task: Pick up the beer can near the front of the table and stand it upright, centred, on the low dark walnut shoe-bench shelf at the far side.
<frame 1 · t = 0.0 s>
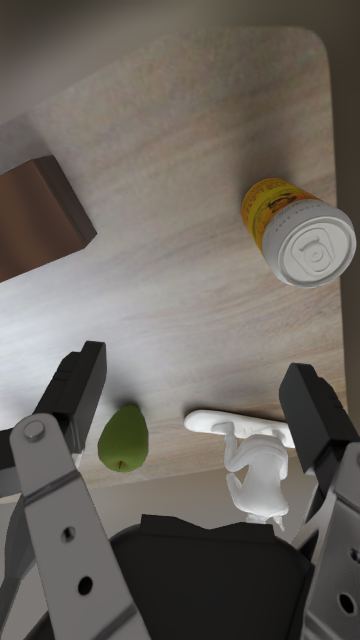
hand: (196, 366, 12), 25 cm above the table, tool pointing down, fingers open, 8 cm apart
figurine: (247, 423, 55), on the table
shelf: (21, 222, 34), on the table
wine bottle: (67, 439, 60), on the table
beer can: (266, 205, 32), on the table
apple: (131, 408, 54), on the table
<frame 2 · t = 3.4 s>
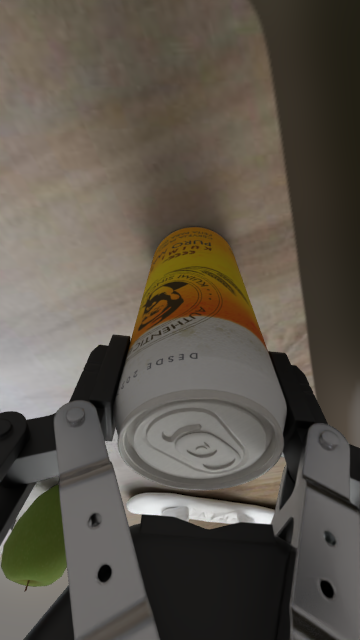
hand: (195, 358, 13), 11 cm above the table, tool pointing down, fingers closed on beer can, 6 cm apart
figurine: (207, 503, 45), on the table
beer can: (193, 263, 21), on the table, touching gripper
apple: (61, 487, 43), on the table
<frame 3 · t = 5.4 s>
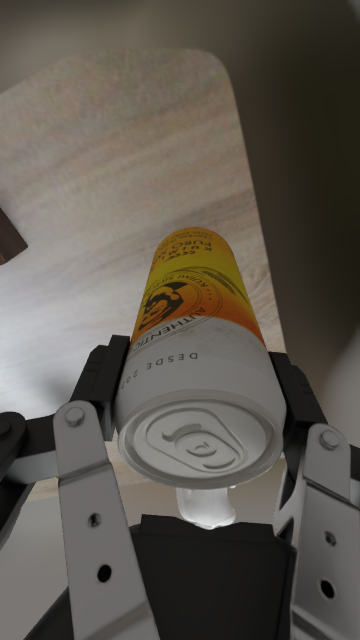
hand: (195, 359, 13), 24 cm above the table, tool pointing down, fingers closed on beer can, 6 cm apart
figurine: (203, 431, 55), on the table
beer can: (193, 263, 21), point 13 cm above the table, touching gripper
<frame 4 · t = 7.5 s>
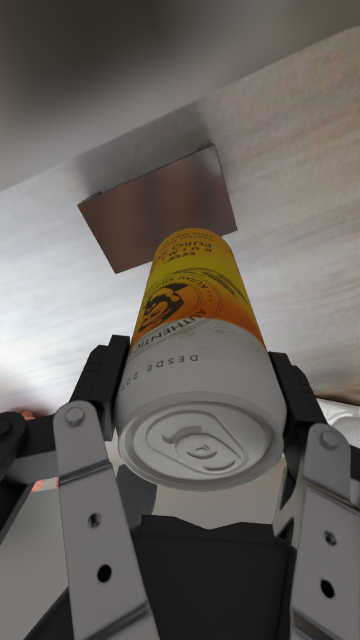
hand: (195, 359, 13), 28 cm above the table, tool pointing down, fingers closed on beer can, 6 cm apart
figurine: (325, 408, 57), on the table
shelf: (162, 207, 36), on the table
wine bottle: (146, 422, 62), on the table
beer can: (193, 264, 21), point 17 cm above the table, touching gripper
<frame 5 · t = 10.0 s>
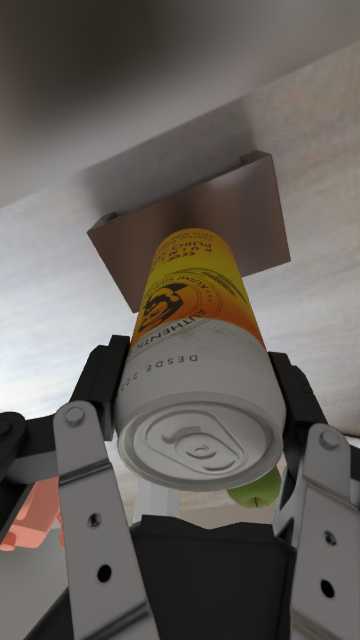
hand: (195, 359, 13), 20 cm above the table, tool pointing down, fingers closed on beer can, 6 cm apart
shelf: (190, 230, 29), on the table
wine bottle: (160, 463, 55), on the table
beer can: (193, 264, 21), point 9 cm above the table, touching gripper
apple: (243, 432, 48), on the table
teapot: (44, 468, 57), on the table
when the fingers open (16 cm above the table, at t = 11.8 s): beer can stays where it is, resting on shelf.
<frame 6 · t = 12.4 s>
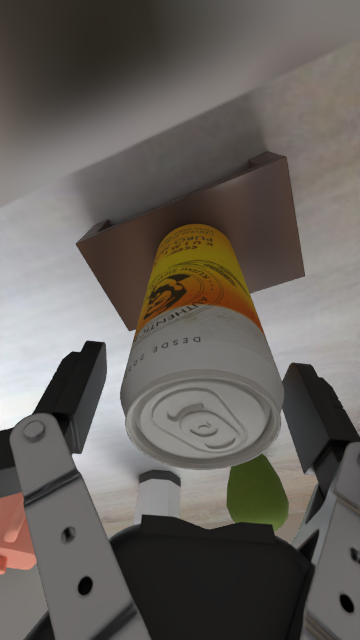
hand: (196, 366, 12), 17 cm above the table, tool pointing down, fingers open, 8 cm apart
shelf: (192, 239, 26), on the table
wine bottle: (160, 479, 52), on the table
beer can: (194, 259, 22), point 5 cm above the table, touching shelf
apple: (247, 449, 46), on the table
teapot: (38, 483, 54), on the table
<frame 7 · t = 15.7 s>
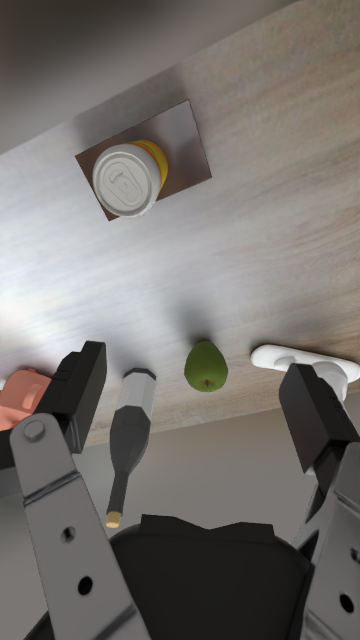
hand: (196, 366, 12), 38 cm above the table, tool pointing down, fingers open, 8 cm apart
figurine: (304, 360, 63), on the table
shelf: (148, 163, 41), on the table
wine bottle: (140, 378, 67), on the table
beer can: (145, 166, 37), point 5 cm above the table, touching shelf
apple: (204, 345, 61), on the table
teapot: (46, 385, 70), on the table
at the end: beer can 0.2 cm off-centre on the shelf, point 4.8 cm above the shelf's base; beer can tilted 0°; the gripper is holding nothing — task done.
